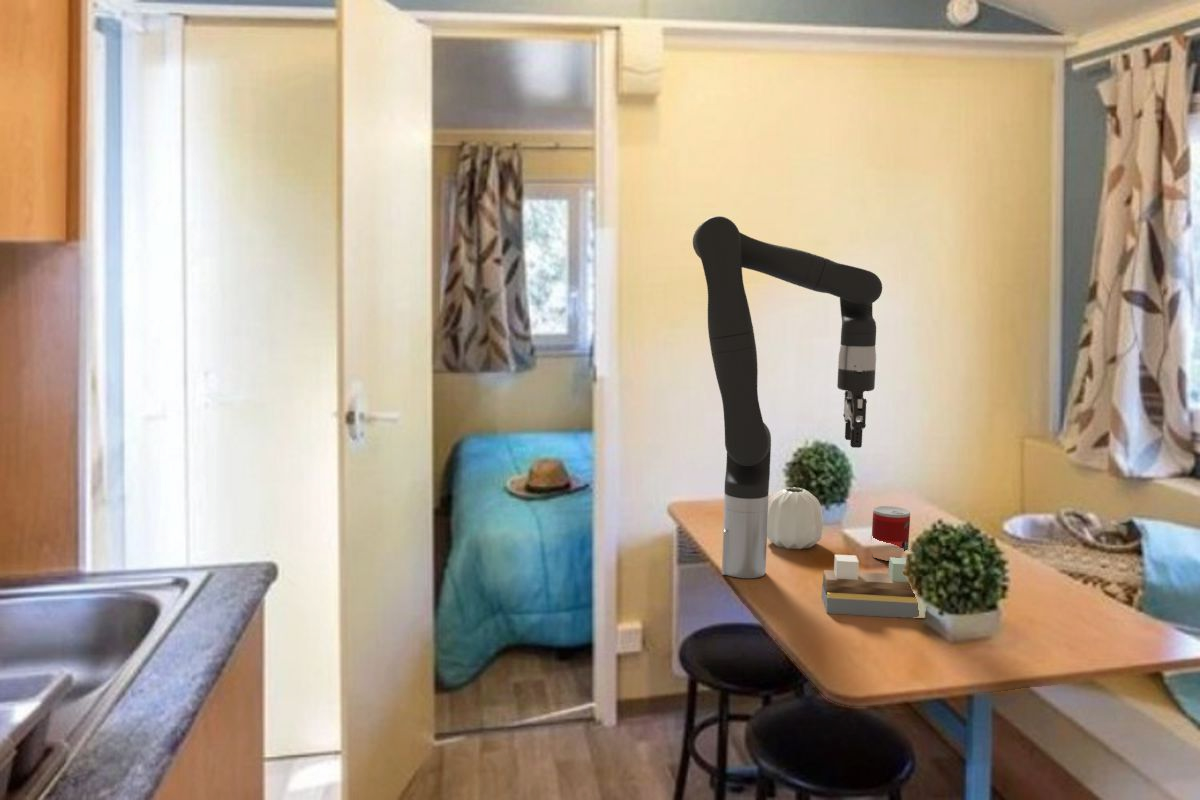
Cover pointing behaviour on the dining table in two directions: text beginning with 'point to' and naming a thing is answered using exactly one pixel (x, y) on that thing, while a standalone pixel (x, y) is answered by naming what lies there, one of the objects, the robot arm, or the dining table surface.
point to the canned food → (891, 525)
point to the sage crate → (897, 569)
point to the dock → (870, 605)
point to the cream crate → (846, 567)
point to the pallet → (866, 585)
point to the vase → (794, 519)
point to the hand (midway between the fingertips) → (852, 443)
